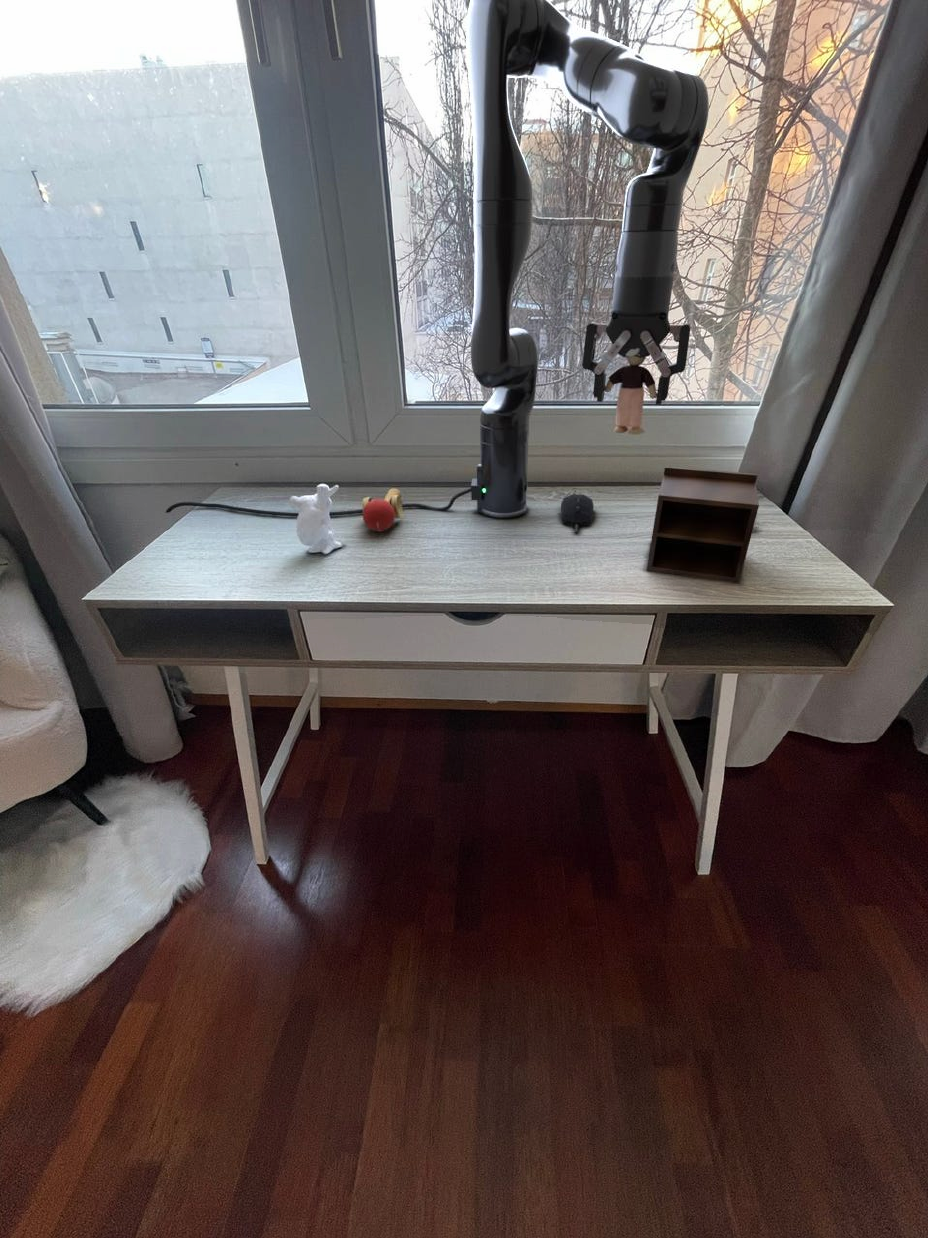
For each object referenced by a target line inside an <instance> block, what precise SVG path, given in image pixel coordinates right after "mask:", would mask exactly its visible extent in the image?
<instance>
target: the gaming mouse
mask: <svg viewBox="0 0 928 1238" xmlns="http://www.w3.org/2000/svg"><path fill="white" fill-rule="evenodd" d="M560 505H561V506H560V514H561V516H560V517H561V521H562V522H563V523H564V524H566V525H569V526H574V529H575V531H574V533H575V534H579V533H578V530H579V527H583V526H588V525H590V524H592V520H593V515H594V514H593V513H594V501H593V499H592V498H591V497H589V496H587V495H585V494H577V493H576V494H575V493H572V494H571V495H568V496H565V497H563V499H562V500H561V503H560Z"/></svg>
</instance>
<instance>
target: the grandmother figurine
mask: <svg viewBox="0 0 928 1238" xmlns="http://www.w3.org/2000/svg"><path fill="white" fill-rule="evenodd" d="M639 351H640V350H639V348H637V349H631V350H629V351H628V352H627V354H626V356H627V357H625V358H626V361H627V363H628V364H629V365H624V366H621V367H620V368H618V369H616V370H615V371H614V372H612V374H610V376H608V380H607V382H606V384H605V388H604V390H605V393H610V392H611V391H612V390H613V389H612V388H613V387H614V386H615V385H618V384H621V385H620V387H619V390H618V396H617V403H616V409H615V423H614V424H615V427H614V430H613V433H616V434H624V433H627V432H628V435H634V436H635V435H643V434H644V433H646V432H645V428H644V427H643V426H642V421H643V410H644V401H645V390H644V385H645V386H646V388H647V390H648V393H649V398H650V399H656V398H657V387H656V381H655V379H654V377H653V375H652V373H651V372H650V370H649V369H647V367H644V366H641V365H642V364H643V363H645V360H646V359H647V357H645V358H639V357H636V356H634V355H638V352H639ZM639 356H640V355H639ZM628 427H631V428H630V429H629V428H628Z"/></svg>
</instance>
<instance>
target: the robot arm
mask: <svg viewBox="0 0 928 1238" xmlns="http://www.w3.org/2000/svg"><path fill="white" fill-rule="evenodd" d="M465 35H466V37H465V38H466V39H465V40H466V44H465V45H466V61H467V74H468V84H469V96H470V107H471V120H472V121H471V123H472V145H473V234H474V293H473V294H474V297H473V311H472V312H473V313H472V324H471V337H470V338H471V339H470V364H471V370H472V372H473V376H474V377H475V379H476V381H477V382H478V384H480V385H481V386H482V387H483V388H486V389H494V390H493V393H492V395H491V397H490V398H489V399H488V400H487V401H486V403H484V405H482V407H481V409H480V412H479V446H480V447H479V453H480V454H479V457H480V458H479V460H480V463H478V464H477V465H476V478H471V484H470V487H469V488H466V489H464V490H462V491H460V492H458V493H456V494H455V495H454V496H452V497H451V499H450V501H449V503H448V504H447V505H445V506H442V507H435V506H432V505H431V506H430V505H427V504H424V503H423V504H422V503H417V502H415V503H414V502H410V503H402V507H403V508H420V509H425V510H429V511H430V510H431V511H437V512H439V511H440V512H445V511H448V510H449V509H451V508H452V507H453V504H454V502H455V501H456V500H457V499H459V498H460V497H463V496H465V495H467V494H469V493H470V498H471V501H476V512H477V513H480V514H483V515H485V516H487V517H490V518H491V517H492V518H496V519H510V518H516V517H519V516H522V515H524V514H525V513H526V512H527V505H528V504H527V493H528V487H529V486H528V485H529V484H528V465H529V443H530V441H529V440H530V438H529V437H530V418H531V413H532V412H533V411H532V410H533V408H534V406H535V401H536V389H537V381H538V379H537V378H538V368H539V367H538V365H539V356H538V348H537V344H536V341H535V338H534V337H533V335H532V334H531V333H530V331H528V330H527V329H525V328H523V327H519V326H518V327H516V326H515V327H510V324H511V323H510V318H511V301H512V296H513V292H514V288H515V286H516V282H517V279H518V277H519V275H520V272H521V270H522V267H523V264H524V262H525V259H526V256H527V254H528V250H529V247H530V244H531V240H532V231H533V229H532V228H533V200H534V194H533V193H534V192H533V183H532V178H531V175H530V172H529V169H528V165H527V162H526V160H525V157H524V155H523V153H522V150H521V147H520V145H519V143H518V140H517V136H516V134H515V131H514V128H513V125H512V120H511V116H510V110H509V109H510V108H509V98H508V97H509V96H508V94H509V93H508V78H513V79H519V78H521V79H522V78H532V79H539V80H545V81H549V82H552V83H554V84H556V85H558V86H559V87H560V89H561V91H562V92H563V95H565V96H566V98H567V99H568V100H569V101H570V102H571V103H572V104H574V105H575V106H576V107H578V108H580V109H581V110H583V111H584V112H586V113H587V114H589V115H591V116H593V117H595V118H596V119H599V120H600V121H603V122H605V124H606V125H607V126H608V127H609V129H611V130H612V132H614V133H615V135H616V136H618V137H619V138H620V139H621V140H623V141H625V142H627V143H629V144H631V145H632V146H633V145H634V146H636V147H640V148H645V149H646V148H648V149H653V151H652V156H651V159H650V162H649V165H648V167H647V170H646V172H645V173H641V174H639V175H636V176H635V177H633V178H632V179H631V180H629V182H628V185H627V186H626V190H625V194H624V205H623V206H624V207H623V214H622V223H621V234H620V240H619V243H618V249H617V253H616V254H617V255H616V263H615V265H614V266H615V267H614V273H615V274H614V282H613V283H614V284H613V292H612V293H613V294H612V304H611V314H610V318H609V321H608V323H599V322H596V321H592V322H590V323H588V324H587V326H586V330H585V339H584V347H583V355H582V366H581V367H582V368H583V369H584V370H588V371H590V372H592V373H593V375H594V380H593V381H594V382H593V392H592V394H593V395H592V396H593V398H596V402H597V403H602V402H603V401H604V399H605V393H606V391H605V390H604V388H605V386H606V384H607V382H606V381H607V372H606V369H607V368H608V367H609V365H610V364H611V363H612V362H613V360H614V359H615V358H616V357H617V356H618V355H619V356H620V357H622V358H626V357H627V356H626V354H627V352H628V351H629V350H631V349H637V348H639V350H640V351H639V352H638V355H634V356H636V357H639V358H645V357H646V358H648V357H649V356H650V357H651V359H652V361H653V363H654V364H655V365H656V367H657V369H658V370H659V372H660V375H659V378H658V384H657V390H656V392H657V397H656V398H655V405H656V406H661V405H662V402H665V401H666V400H667V398H668V396H669V389H670V384H671V378H672V376H674V375H676V374H681V373H683V372H685V370H686V366H687V360H688V353H689V352H688V351H689V346H690V345H689V344H690V336H691V329H692V327H691V326H692V325H691V323H689V322H684V323H683V324H670V321H669V313H670V305H671V299H672V292H673V285H674V277H675V271H676V267H677V265H676V264H677V258H678V246H679V245H678V243H679V242H678V240H679V231H680V230H679V229H680V222H681V216H682V208H683V201H684V200H683V199H684V193H685V190H686V186H687V183H688V182H689V179H690V176H691V173H692V171H693V168H694V165H695V162H696V159H697V157H698V153H699V150H700V147H701V145H702V142H703V138H704V136H705V132H706V128H707V125H708V119H709V111H710V99H709V91H708V88H707V85H706V84H705V81H704V80H703V79H702V77H700V75H697V74H696V73H693V72H689V71H683V70H678V69H673V68H668V67H664V66H660V65H658V64H653V63H651V62H648V61H645V60H644V58H643V56H642V55H641V54H639V53H638V52H637V51H636V50H634V49H633V48H630V47H629V46H626V45H624V44H622V43H620V42H617V41H616V40H613V39H611V38H609V37H607V36H605V35H602V34H599V33H596V32H594V31H591V30H587V29H585V28H583V27H581V26H579V25H578V24H576V23H574V22H573V21H571V19H569V18H568V17H566V16H565V15H564V14H563V13H562V12H561V11H560V10H559V9H558V8H556V6H555V5H554V4H553V3H552V2H550V1H549V0H470V1H469V6H468V11H467V19H466V34H465ZM604 333H606V335H607V338H608V339H609V340H610V342H611V347H610V348H609V349H608V350H607V352H606V353H605V354H604V356H603V357H602V358H601V360H600V361H597V360H595V357H596V347H597V346H596V345H597V341H599V340H600V339H601V338H602V336H603V334H604ZM669 334H671V336H672V337H673V338H672V339H673V341H674V342H675V343H678V347H677V353H676V354H677V355H676V362H674V363H671V364H670V362H669V360H668V358H667V356H666V354H665V352H664V350H663V347H662V346H661V343H663V341H664V340H665V339H666V338H667V337H668V335H669ZM639 355H640V356H639ZM646 358H645V359H646ZM186 506H188V507H189V506H190V507H199V508H200V507H202V508H220V509H225V510H226V509H227V510H231V511H238V512H243V513H252V514H260V515H267V516H268V515H269V516H281V517H298V514H299V512H289V511H288V512H287V511H275V510H264V509H263V510H262V509H255V508H247V507H240V506H239V507H238V506H233V505H229V504H228V505H227V504H222V503H210V502H209V503H207V502H195V501H194V502H193V501H181V502H176V503H174V504H172V505H170V506H169V507H168V508H167V509H166V510H165V514H167V513H171V512H172V511H173V510H175V509H176V508H179V507H186ZM356 514H358V515H359V514H363V508H361V509H352V510H351V509H350V510H339V511H330V512H329V516H330V517H332V516H345V515H347V516H348V515H356Z"/></svg>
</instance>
